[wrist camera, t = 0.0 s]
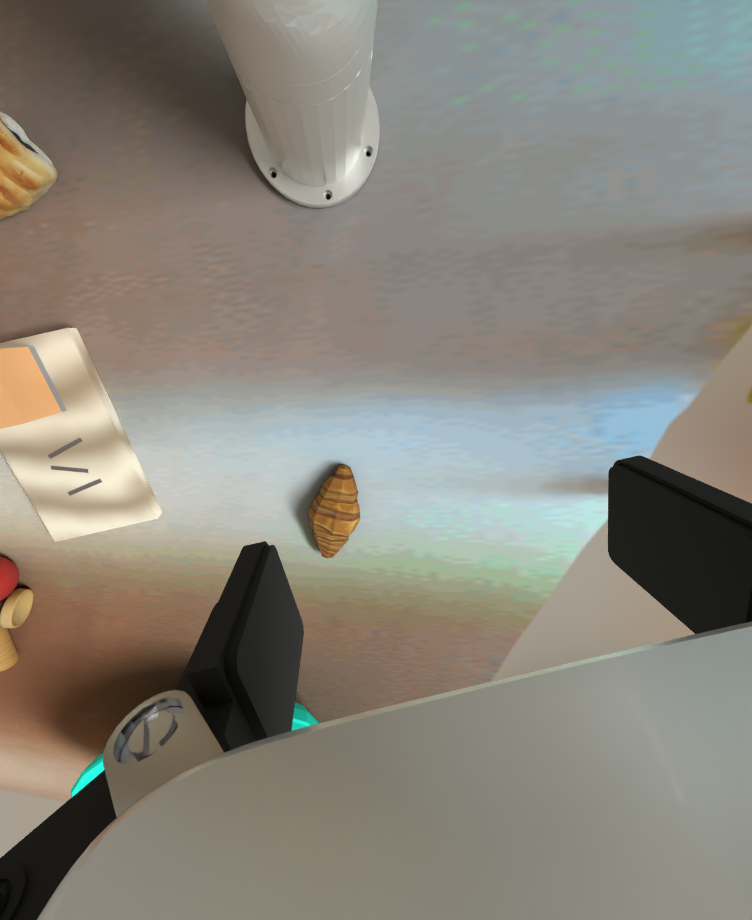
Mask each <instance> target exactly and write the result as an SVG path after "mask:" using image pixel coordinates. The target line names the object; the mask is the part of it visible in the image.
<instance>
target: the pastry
mask: <svg viewBox="0 0 752 920" xmlns="http://www.w3.org/2000/svg"><path fill="white" fill-rule="evenodd" d="M56 179H57V171H56V169H55V168H54V166H53V164H52V162H51V160H50V159H49V158H48V157H47V155H46V154H45V153H44V152H43V151H41V150H40V149H39V148H38V147H37V146H36V145H35V144H34V143H33V142H31V141H30V140H29V139H28V137H27V136H26V133H25V132H24V130H23V129H22V128H21V127H20V126H19V125H18V124H17V123H16V122H15V121H14V119H12V118H11V117H9V116H8V115H7V114H5V113H3V112H1V111H0V219H3V218H5V217H7V216H12V215H14V214H16V213H18V212H21V211H27V210H28V209H30V206H31V204H32V203H34V202H36V201H37V200H38V199H39V198H40V197H41V196H42V195H44V194H45V193H46V192H47V191H48V190H49V189H50V187H51V186H52V185H53V184H54V182H55V181H56Z"/></svg>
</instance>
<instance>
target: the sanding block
mask: <svg viewBox="0 0 752 920" xmlns="http://www.w3.org/2000/svg"><path fill="white" fill-rule="evenodd" d="M63 411H67V410H66V408H65V406H64V404H63V402H62V400H61V398H60V396H59V394H58V392H57V390H56V388H55V386H54V384H53V382H52V380H51V378H50V376H49V374H48V373H47V371H46V369H45V367H44V365H43V363H42V361H41V359H40V357H39V355H38V353H37V351H36V349H35V347H34V346H31V347H16V348H1V349H0V429H2V428H7V427H11V426H16V425H20V424H24V423H28V422H31V421H34V420H37V419H41V418H44V417H47V416H50V415H54V414H57V413H60V412H63Z"/></svg>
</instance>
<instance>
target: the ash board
mask: <svg viewBox="0 0 752 920" xmlns="http://www.w3.org/2000/svg"><path fill="white" fill-rule="evenodd" d="M31 346H34V347H35V349H36V351H37V353H38V355H39V357H40V359H41V361H42V363H43V365H44V367H45V369H46V371H47V373H48V374H49V376H50V378H51V380H52V382H53V384H54V386H55V388H56V390H57V392H58V394H59V396H60V398H61V400H62V402H63V404H64V406H65V408H66V410H67V411H63V412H60V413H57V414H54V415H50V416H47V417H44V418H41V419H37V420H34V421H31V422H28V423H24V424H20V425H16V426H11V427H7V428H2V429H0V450H1V452H2V454H3V455H4V457H5V459H6V460H7V462H8V464H9V465H10V467H11V469H12V470H13V472H14V474H15V475H16V477H17V479H18V480H19V482H20V484H21V486H22V487H23V489H24V491H25V492H26V494H27V496H28V497H29V499H30V501H31V502H32V504H33V506H34V507H35V509H36V511H37V512H38V514H39V516H40V517H41V519H42V521H43V522H44V524H45V526H46V527H47V529H48V531H49V532H50V534H51V536H52V537H53V539H54V541H55V542H57V541H61V540H65V539H70V538H74V537H78V536H83V535H87V534H92V533H96V532H100V531H105V530H109V529H113V528H118V527H122V526H127V525H131V524H135V523H140V522H144V521H148V520H153V519H157V518H158V517H159V516H160V515H161V514H162V511H161V509H160V507H159V505H158V502H157V500H156V498H155V496H154V494H153V492H152V489H151V487H150V485H149V483H148V481H147V479H146V477H145V474H144V472H143V470H142V468H141V466H140V464H139V462H138V459H137V457H136V455H135V453H134V451H133V449H132V446H131V444H130V442H129V440H128V438H127V436H126V434H125V431H124V429H123V427H122V425H121V423H120V421H119V418H118V416H117V414H116V412H115V410H114V408H113V406H112V403H111V401H110V399H109V397H108V395H107V393H106V390H105V388H104V386H103V384H102V382H101V380H100V378H99V375H98V373H97V371H96V369H95V367H94V365H93V363H92V360H91V358H90V356H89V354H88V352H87V350H86V347H85V345H84V343H83V341H82V339H81V337H80V335H79V332H78V330H77V328H65V329H60V330H56V331H51V332H47V333H42V334H38V335H34V336H29V337H25V338H20V339H16V340H11V341H7V342H2V343H0V349H1V348H16V347H31Z"/></svg>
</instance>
